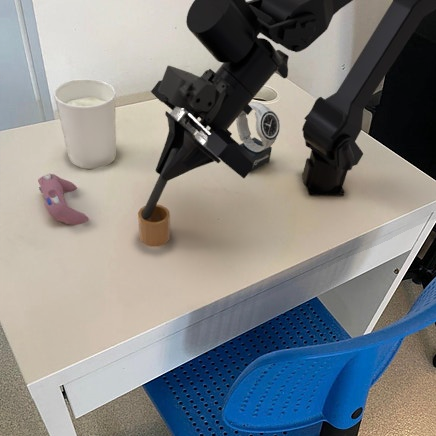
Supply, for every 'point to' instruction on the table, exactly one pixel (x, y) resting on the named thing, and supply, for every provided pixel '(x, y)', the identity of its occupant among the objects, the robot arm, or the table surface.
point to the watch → (259, 133)
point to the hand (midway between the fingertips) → (160, 176)
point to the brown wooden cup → (155, 226)
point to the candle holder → (88, 121)
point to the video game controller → (59, 199)
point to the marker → (157, 188)
